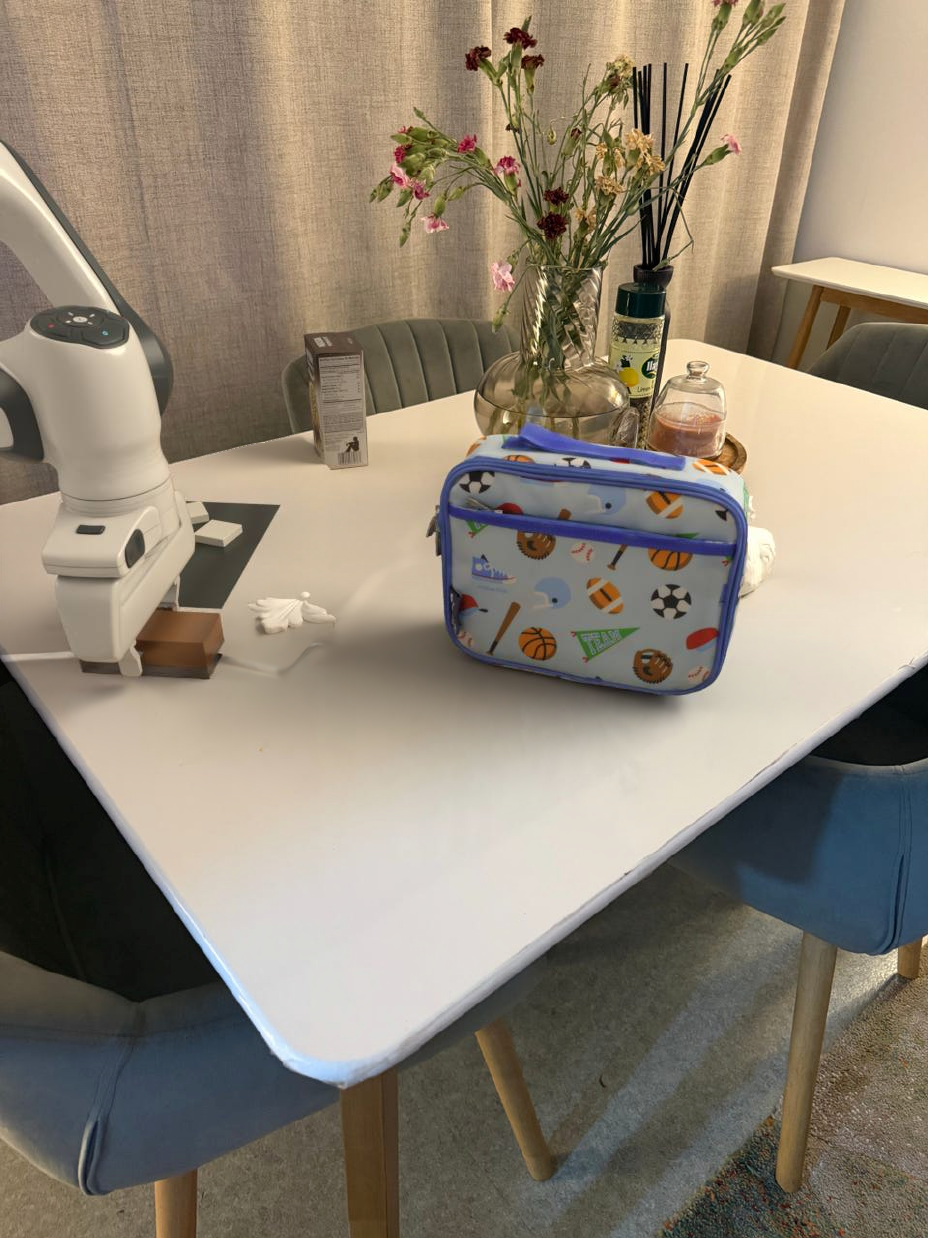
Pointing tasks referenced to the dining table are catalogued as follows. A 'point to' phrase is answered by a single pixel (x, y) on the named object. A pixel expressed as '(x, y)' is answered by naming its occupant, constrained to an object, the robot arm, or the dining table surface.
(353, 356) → the coffee box
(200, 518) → the chalk piece
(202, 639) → the eraser
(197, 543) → the slate board
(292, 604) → the acanthus leaf ornament
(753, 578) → the bust
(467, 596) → the lunch box
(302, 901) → the dining table surface
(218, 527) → the white square tile
